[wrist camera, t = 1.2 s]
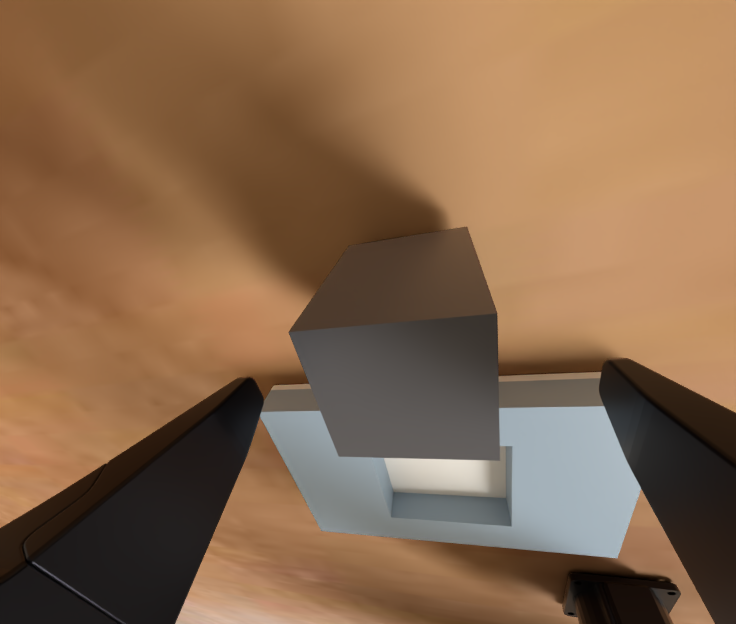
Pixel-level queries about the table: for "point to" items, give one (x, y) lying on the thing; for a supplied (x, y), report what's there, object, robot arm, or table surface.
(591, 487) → the socket
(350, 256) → the plug
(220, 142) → the table surface
